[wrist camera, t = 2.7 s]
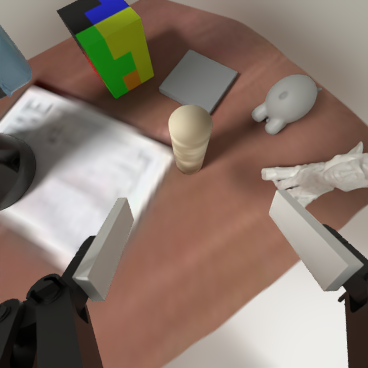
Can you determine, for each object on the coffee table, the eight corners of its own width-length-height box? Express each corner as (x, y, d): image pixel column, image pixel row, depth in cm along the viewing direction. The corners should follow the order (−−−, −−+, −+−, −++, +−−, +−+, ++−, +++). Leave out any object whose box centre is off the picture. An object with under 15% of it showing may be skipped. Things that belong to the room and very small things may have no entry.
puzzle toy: (130, 48, 35) (109, -16, 26) (154, 76, 34) (140, 18, 24) (93, 69, 34) (56, 10, 25) (115, 99, 32) (85, 48, 23)
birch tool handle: (171, 165, 29) (160, 129, 17) (185, 145, 30) (184, 97, 18) (193, 179, 28) (197, 151, 16) (207, 158, 29) (220, 117, 17)
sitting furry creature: (256, 171, 28) (306, 139, 16) (297, 155, 29) (372, 111, 17) (283, 220, 26) (360, 221, 14) (325, 201, 27) (434, 187, 15)
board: (159, 92, 32) (158, 87, 31) (189, 54, 35) (189, 49, 33) (207, 118, 31) (208, 114, 30) (235, 77, 33) (237, 72, 32)
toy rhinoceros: (296, 125, 33) (344, 88, 26) (268, 141, 27) (319, 100, 20) (274, 102, 34) (314, 60, 27) (243, 113, 29) (282, 64, 21)
